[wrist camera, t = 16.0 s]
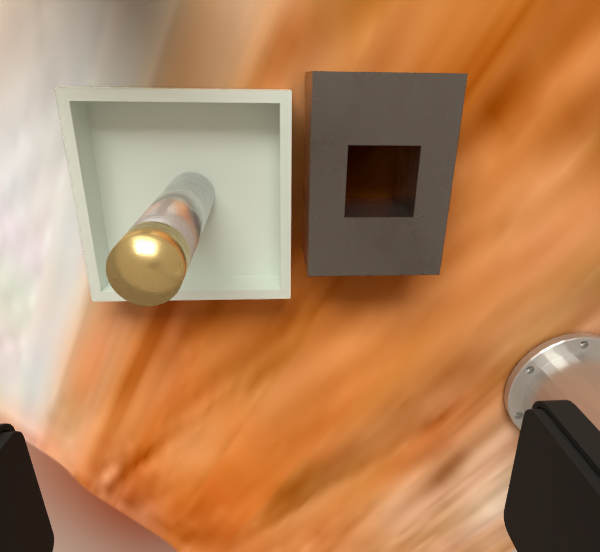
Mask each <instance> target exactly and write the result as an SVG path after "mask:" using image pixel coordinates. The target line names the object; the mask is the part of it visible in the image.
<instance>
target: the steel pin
mask: <svg viewBox="0 0 600 552" xmlns="http://www.w3.org/2000/svg"><path fill="white" fill-rule="evenodd" d="M214 200H215V191H214V188H213V186H212V184H211V182H210V181H209V180H208V179H207V178H206V177H205V176H203V175H202V174H199V173H196V172H184V173H181V174H179V175H178V176H176V177H175V178H174V179H173V180H172V181H171V183H170V184H169V185H168V186H167V187H166V188H165V189H164V191H163V192H162V193H161V194H160V195H159V196H158V197H157V199H156V200H155V201H154V202H153V203H152V204H151V205H150V207H149V208H148V209H147V210H146V211H145V212H144V213H143V215H142V216H141V217H140V218H139V219H138V220H137V221H136V222H135V224H134V225H133V226H132V227H131V228H130V229H129V230H128V232H127V233H126V234H125V235H124V236H123V237H122V238H121V240H120V241H119V242H118V243H117V244H116V245H115V246H114V248H113V249H112V250H111V252H110V253H109V255H108V258H107V261H106V275H107V279H108V281H109V283H110V285H111V287H112V288H113V290H114V291H115V292H116V293H117V294H118V295H119V296H120V297H122V298H123V299H125V300H127V301H128V302H131V303H133V304H136V305H141V306H156V305H160V304H163V303H165V302H167V301H169V300H170V299H172V298H173V297H174V296H175V295H176V294H177V292H178V291H179V289H180V287H181V285H182V283H183V280H184V277H185V275H186V272H187V270H188V267H189V265H190V262H191V260H192V257H193V255H194V252H195V249H196V247H197V244H198V242H199V239H200V237H201V234H202V232H203V229H204V227H205V224H206V221H207V219H208V216H209V214H210V211H211V209H212V206H213V204H214Z"/></svg>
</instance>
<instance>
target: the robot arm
mask: <svg viewBox="0 0 600 552" xmlns="http://www.w3.org/2000/svg"><path fill="white" fill-rule="evenodd" d="M504 403H505V408H506V411H507V413H508V416H509V417H510V418H511V420H512V421H513V423H514V424H515V425H516V426H517V427H518V428H519V429H520V435H519V440H518V445H517V450H516V455H515V460H514V465H513V470H512V475H511V480H510V484H509V489H508V494H507V499H506V504H505V509H504V522H505V526H506V529H507V532H508V534H509V536H510V538H511V540H512V542H513V544H514V546H515V548H516V550H517V552H600V335H596V334H591V333H573V334H566V335H562V336H559V337H556V338H553V339H551V340H548V341H546V342H544V343H542V344H540V345H539V346H537V347H536V348H534V349H533V350H531V351H530V352H529V353H528V354H527V355H526V356H525V357H523V358H522V359H521V360H520V362H519V363H518V364H517V365H516V367H515V368H514V369H513V371H512V373H511V375H510V376H509V378H508V381H507V384H506V387H505V393H504ZM53 545H54V535H53V531H52V528H51V525H50V521H49V518H48V515H47V512H46V508H45V505H44V501H43V498H42V495H41V491H40V488H39V485H38V482H37V479H36V475H35V472H34V468H33V465H32V462H31V459H30V455H29V452H28V449H27V445H26V442H25V439H24V436H23V434H22V433H21V432H19V431H15V429H14V427H13V426H12V425H11V424H0V552H52V551H53Z"/></svg>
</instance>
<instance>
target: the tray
mask: <svg viewBox="0 0 600 552" xmlns="http://www.w3.org/2000/svg"><path fill="white" fill-rule="evenodd" d="M54 89H55V95H56V101H57V106H58V112H59V118H60V123H61V129H62V134H63V140H64V146H65V151H66V157H67V162H68V168H69V174H70V179H71V185H72V191H73V196H74V202H75V207H76V213H77V219H78V224H79V230H80V236H81V241H82V247H83V252H84V258H85V264H86V269H87V275H88V280H89V286H90V292H91V297H92V302H99V301H127V300H125V299H123V298H122V297H120V296H119V295H118V294H117V293H116V292H115V291H114V290H113V288H112V287H111V285H110V283H109V281H108V279H107V275H106V261H107V258H108V255H109V253H110V252H111V250H112V249H113V248H114V246H115V245H116V244H117V243H118V242H119V241H120V240H121V238H122V237H123V236H124V235H125V234H126V233H127V232H128V230H129V229H130V228H131V227H132V226H133V225H134V224H135V222H136V221H137V220H138V219H139V218H140V217H141V216H142V215H143V213H144V212H145V211H146V210H147V209H148V208H149V207H150V205H151V204H152V203H153V202H154V201H155V200H156V199H157V197H158V196H159V195H160V194H161V193H162V192H163V191H164V189H165V188H166V187H167V186H168V185H169V184H170V183H171V181H172V180H173V179H174V178H175V177H176V176H178V175H179V174H181V173H184V172H196V173H199V174H202V175H203V176H205V177H206V178H207V179H208V180H209V181H210V182H211V184H212V186H213V188H214V191H215V200H214V204H213V206H212V209H211V211H210V214H209V216H208V219H207V221H206V224H205V227H204V229H203V232H202V234H201V237H200V239H199V242H198V244H197V247H196V249H195V252H194V255H193V257H192V260H191V262H190V265H189V267H188V270H187V272H186V275H185V277H184V280H183V283H182V285H181V287H180V289H179V291H178V292H177V294H176V295H175V296H174V297H173V298H172V299H170V300H233V299H291V148H292V91H291V90H290V89H226V88H149V87H59V88H54Z"/></svg>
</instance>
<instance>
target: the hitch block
mask: <svg viewBox="0 0 600 552" xmlns="http://www.w3.org/2000/svg"><path fill="white" fill-rule="evenodd" d="M467 75H468V74H455V73H390V72H324V71H311V72H306V75H305V136H304V197H303V253H304V258H305V263H306V268H307V274H308V276H368V275H439V274H440V267H441V260H442V253H443V245H444V238H445V231H446V224H447V217H448V210H449V203H450V196H451V189H452V181H453V174H454V167H455V160H456V153H457V146H458V139H459V132H460V125H461V117H462V110H463V103H464V96H465V89H466V82H467ZM348 145H398V149H397V160H396V170H395V181H394V192H393V198H345V195H346V176H347V157H348Z"/></svg>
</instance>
